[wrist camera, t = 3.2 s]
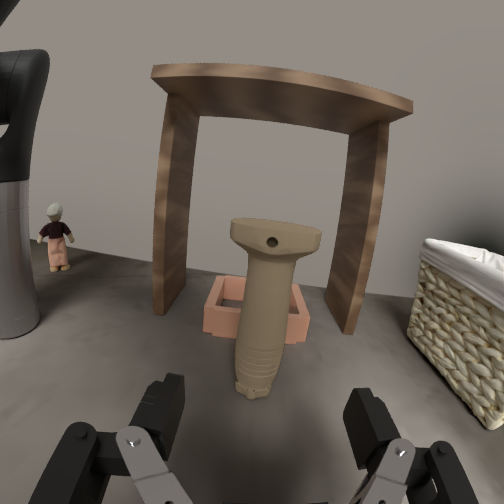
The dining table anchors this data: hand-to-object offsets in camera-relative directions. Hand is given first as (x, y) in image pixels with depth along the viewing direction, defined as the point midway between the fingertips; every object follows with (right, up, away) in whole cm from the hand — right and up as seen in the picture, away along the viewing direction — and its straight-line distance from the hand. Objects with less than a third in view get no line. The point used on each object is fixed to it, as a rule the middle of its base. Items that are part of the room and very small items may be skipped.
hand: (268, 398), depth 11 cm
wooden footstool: (0, -2, +26) cm, 26 cm away
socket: (0, -2, +26) cm, 26 cm away
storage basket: (+28, -9, +13) cm, 32 cm away
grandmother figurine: (-38, +3, +32) cm, 50 cm away
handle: (-1, -6, +12) cm, 13 cm away
